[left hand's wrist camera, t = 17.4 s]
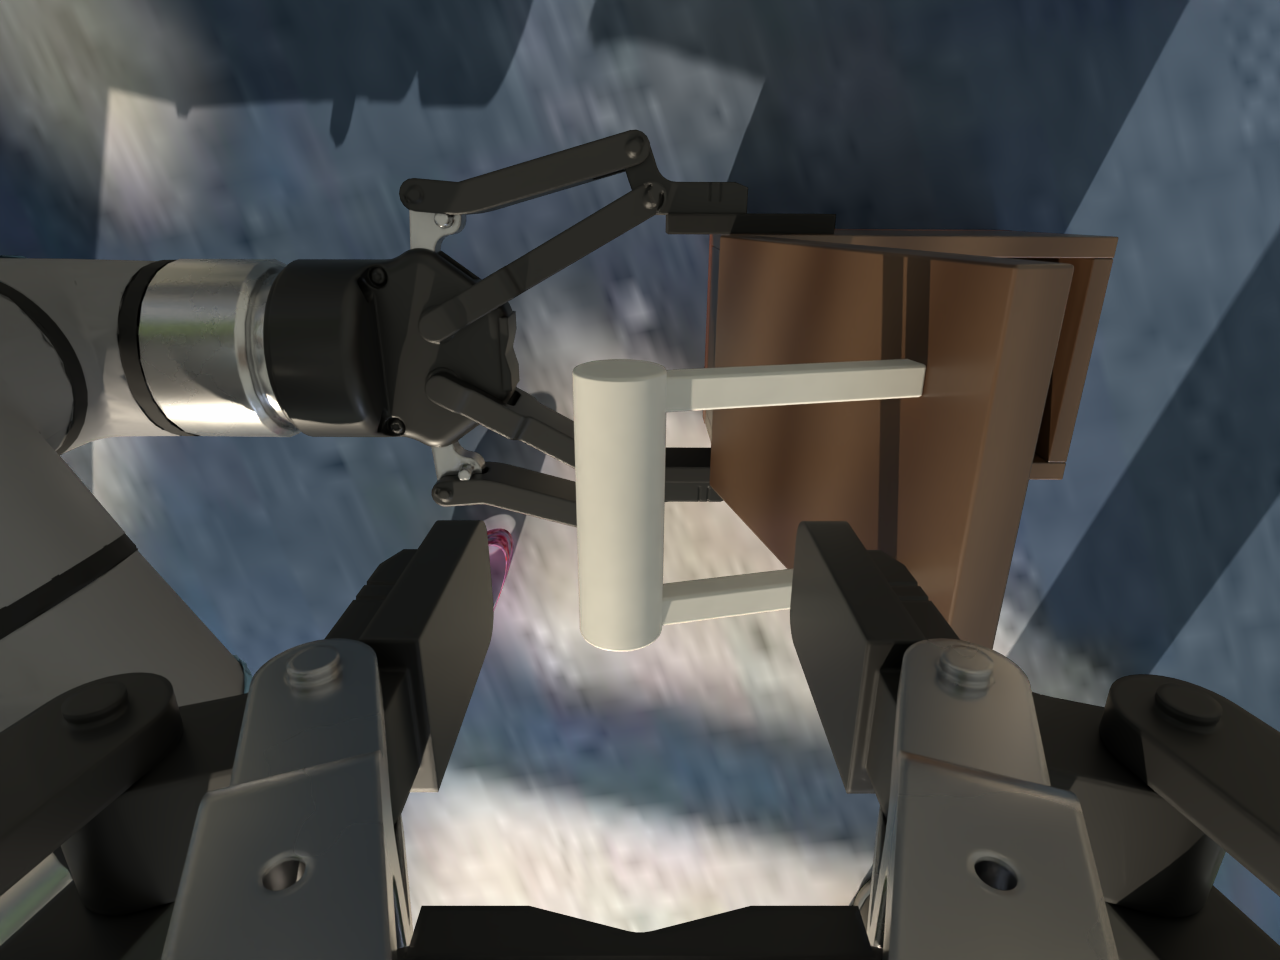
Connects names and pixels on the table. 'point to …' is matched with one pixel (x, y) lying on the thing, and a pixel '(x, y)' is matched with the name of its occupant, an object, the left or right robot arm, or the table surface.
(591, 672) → the table surface
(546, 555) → the table surface
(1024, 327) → the lid
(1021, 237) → the chest
